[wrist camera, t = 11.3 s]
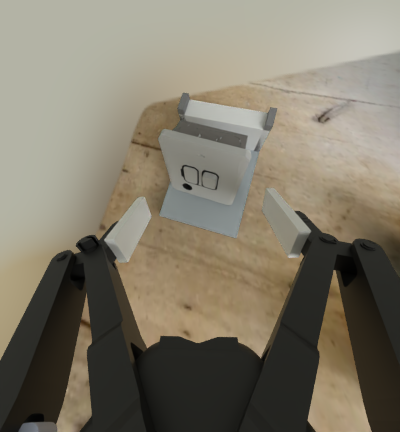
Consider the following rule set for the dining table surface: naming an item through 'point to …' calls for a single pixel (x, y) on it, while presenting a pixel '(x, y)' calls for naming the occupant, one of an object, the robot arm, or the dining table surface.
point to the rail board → (232, 214)
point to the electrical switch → (205, 160)
